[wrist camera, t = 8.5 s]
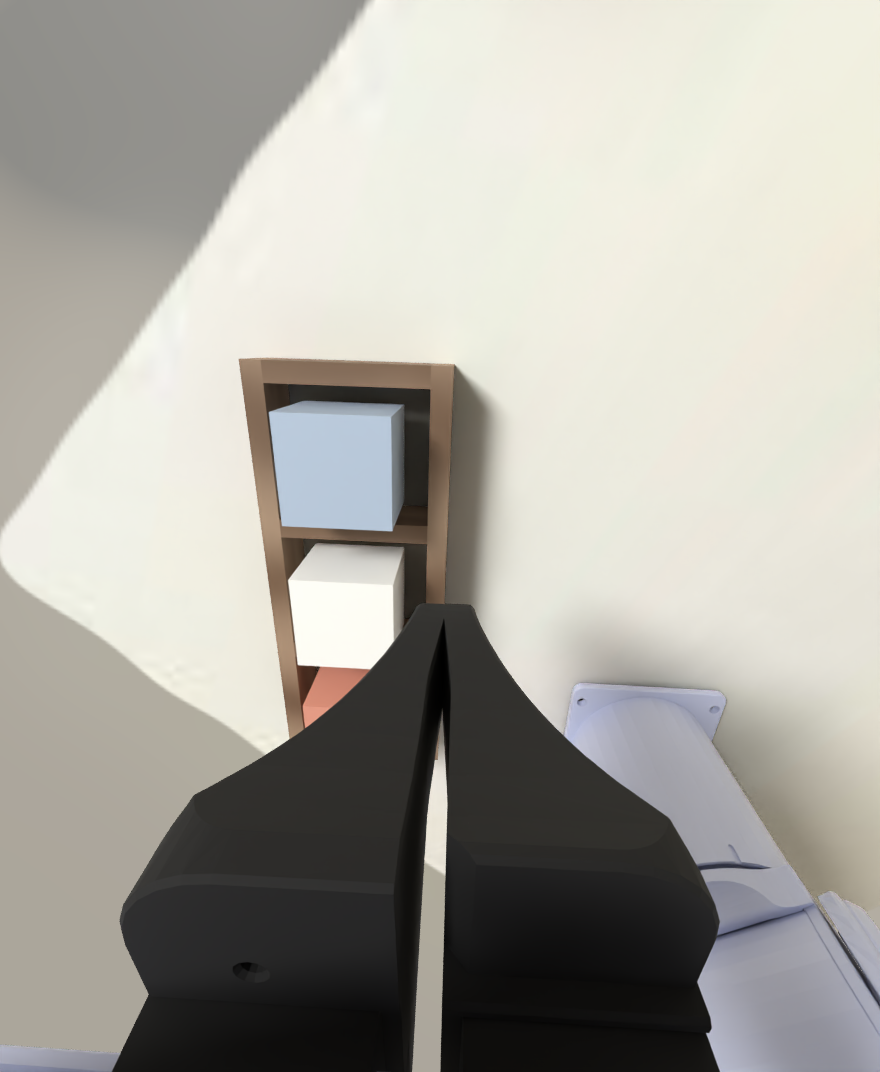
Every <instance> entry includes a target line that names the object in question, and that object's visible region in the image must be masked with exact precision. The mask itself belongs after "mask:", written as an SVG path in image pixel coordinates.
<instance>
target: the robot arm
mask: <svg viewBox="0 0 880 1072" xmlns="http://www.w3.org/2000/svg"><path fill="white" fill-rule="evenodd" d="M581 698H583V700H581V701H579V699H581ZM725 704H726V698H725V696H724V695H723V694H722V693H721V692H720V691H716V690H698V689H680V688H663V687H645V686H627V685H610V684H592V683H579V684H577V685H575V686H574V687H573V690H572V695H571V700H570V705H569V711H568V716H567V721H566V727H565V732H564V735H562V734H561V733H560V732H559V731H558V730H557V729H556V728H555V727H554V726H553V725H552V724H551V723H550V722H549V721H548V720H547V719H546V717H545V716H544V715H543V714H542V713H541V712H540V711H539V710H538V709H537V708H536V706H535V705H534V704H533V703H532V702H531V701H530V700H529V698H528V697H527V696H526V695H525V693H524V692H523V691H522V690H521V688H520V687H519V686H518V685H517V683H516V682H515V681H514V679H513V678H512V676H511V675H510V674H509V672H508V671H507V669H506V668H505V666H504V665H503V663H502V662H501V660H500V659H499V657H498V656H497V654H496V652H495V651H494V649H493V647H492V646H491V644H490V642H489V641H488V639H487V637H486V635H485V633H484V631H483V629H482V627H481V625H480V623H479V621H478V618H477V616H476V613H475V610H474V608H473V607H472V606H471V605H465V604H434V603H420V604H419V605H418V606H417V607H416V609H415V610H414V612H413V614H412V616H411V617H410V619H409V621H408V622H407V624H406V625H405V627H404V628H403V630H402V631H401V632H400V634H399V635H398V636H397V638H396V639H395V640H394V642H393V643H392V644H391V646H390V647H389V648H388V650H387V651H386V652H385V653H384V655H383V656H382V657H381V658H380V659H379V660H378V661H377V663H376V664H375V665H374V666H373V667H372V668H371V669H370V671H369V672H368V673H367V674H366V675H365V676H364V677H363V678H362V679H361V680H360V681H359V682H358V683H357V684H356V685H355V686H354V687H353V688H352V689H351V690H350V691H349V692H348V693H347V694H346V695H345V696H344V697H342V698H341V699H340V700H339V701H338V702H337V703H336V704H335V705H333V706H332V707H331V708H330V709H329V710H327V711H326V712H325V713H324V714H323V715H321V716H320V717H319V718H318V719H317V720H315V721H314V722H313V723H311V724H310V725H309V726H308V727H306V728H305V729H304V730H302V731H301V732H299V733H298V734H297V735H295V736H294V737H292V738H291V739H289V740H288V741H286V742H285V743H283V744H282V745H280V746H279V747H277V748H276V749H274V750H273V751H271V752H270V753H268V754H266V755H265V756H263V757H262V758H260V759H258V760H257V761H255V762H253V763H252V764H250V765H249V766H246V767H245V768H243V769H241V770H239V771H237V772H236V773H234V774H232V775H230V776H228V777H227V778H225V779H223V780H221V781H219V782H218V783H216V784H214V785H213V786H210V787H209V788H207V789H205V790H203V791H201V792H199V793H197V794H195V795H194V796H193V797H192V799H191V800H190V802H189V803H188V805H187V806H186V807H185V809H184V810H183V811H182V813H181V814H180V815H179V817H178V818H177V819H176V821H175V822H174V823H173V825H172V826H171V828H170V830H169V831H168V832H167V834H166V835H165V837H164V839H163V840H162V842H161V843H160V845H159V847H158V848H157V850H156V851H155V853H154V855H153V857H152V858H151V860H150V861H149V863H148V865H147V867H146V868H145V870H144V871H143V873H142V875H141V876H140V878H139V880H138V881H137V883H136V885H135V886H134V888H133V890H132V891H131V893H130V894H129V896H128V898H127V900H126V901H125V903H124V904H123V908H122V913H121V916H120V925H121V930H122V934H123V938H124V941H125V945H126V947H127V949H128V951H129V954H130V956H131V958H132V960H133V962H134V964H135V966H136V968H137V970H138V972H139V975H140V977H141V979H142V981H143V983H144V985H145V987H146V989H147V991H148V994H149V995H148V998H147V999H146V1001H145V1004H144V1006H143V1008H142V1010H141V1012H140V1014H139V1016H138V1018H137V1020H136V1022H135V1024H134V1027H133V1028H132V1031H131V1033H130V1035H129V1037H128V1039H127V1041H126V1043H125V1045H124V1047H123V1049H122V1051H121V1053H113V1052H99V1051H98V1052H97V1051H84V1050H69V1049H56V1048H42V1047H28V1046H14V1045H0V1072H412V1063H413V1062H412V1061H413V1045H414V1027H415V1008H416V1007H415V1006H416V990H417V973H418V955H419V939H420V920H421V905H422V888H423V873H424V856H425V841H426V825H427V812H428V803H429V794H430V788H431V781H432V775H433V768H434V761H435V755H436V748H437V742H438V735H439V728H440V721H441V715H442V708H443V727H444V745H445V762H446V780H447V802H448V809H447V842H446V881H445V920H444V922H445V923H444V957H443V993H442V994H443V995H442V1033H441V1072H880V930H879V928H878V927H877V926H876V924H875V923H874V922H873V920H872V919H871V918H870V916H869V915H868V914H867V913H866V911H865V910H864V909H863V908H862V907H860V906H858V905H856V904H854V903H852V902H850V901H847V900H842V899H841V898H840V897H839V896H838V895H837V894H836V893H835V892H833V891H828V892H826V893H824V894H822V895H820V896H817V897H818V899H819V901H820V902H821V904H822V906H823V907H824V909H825V910H826V912H827V914H828V915H829V917H830V918H831V920H832V921H833V923H834V925H835V926H836V928H837V929H838V933H839V935H840V937H841V938H842V940H843V941H842V940H841V938H840V937H839V935H838V934H837V932H836V930H835V929H834V927H833V926H832V924H831V923H830V921H829V920H828V918H827V917H826V916H825V914H824V913H823V911H822V910H821V908H820V907H819V905H818V904H817V903H816V901H815V900H814V898H813V897H812V895H811V894H810V893H809V891H808V890H807V888H806V887H805V885H804V884H803V883H802V881H801V880H800V878H799V877H798V875H797V874H796V872H795V871H794V870H793V868H792V867H791V866H790V865H789V863H788V862H787V860H786V859H785V857H784V855H783V854H782V852H781V851H780V849H779V847H778V846H777V844H776V843H775V841H774V840H773V838H772V836H771V835H770V833H769V832H768V830H767V829H766V827H765V825H764V824H763V822H762V821H761V819H760V818H759V816H758V814H757V813H756V811H755V810H754V808H753V806H752V805H751V803H750V802H749V800H748V799H747V797H746V795H745V794H744V792H743V791H742V789H741V788H740V786H739V784H738V783H737V781H736V780H735V778H734V777H733V775H732V773H731V772H730V770H729V769H728V767H727V765H726V764H725V762H724V761H723V759H722V758H721V756H720V754H719V753H718V751H717V750H716V748H715V747H714V745H713V743H712V740H713V737H714V734H715V732H716V729H717V726H718V723H719V721H720V718H721V715H722V712H723V709H724V707H725ZM713 706H714V707H713ZM711 707H713V708H711ZM843 942H844V943H845V944H844V943H843ZM845 945H846V946H845ZM846 947H847V948H848V949H847V948H846ZM848 950H849V951H850V952H849V951H848ZM850 953H851V954H850ZM852 956H853V957H852ZM854 959H855V960H854ZM855 961H856V962H855ZM857 964H858V965H857ZM859 967H860V968H859ZM861 970H862V971H861Z"/></svg>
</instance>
